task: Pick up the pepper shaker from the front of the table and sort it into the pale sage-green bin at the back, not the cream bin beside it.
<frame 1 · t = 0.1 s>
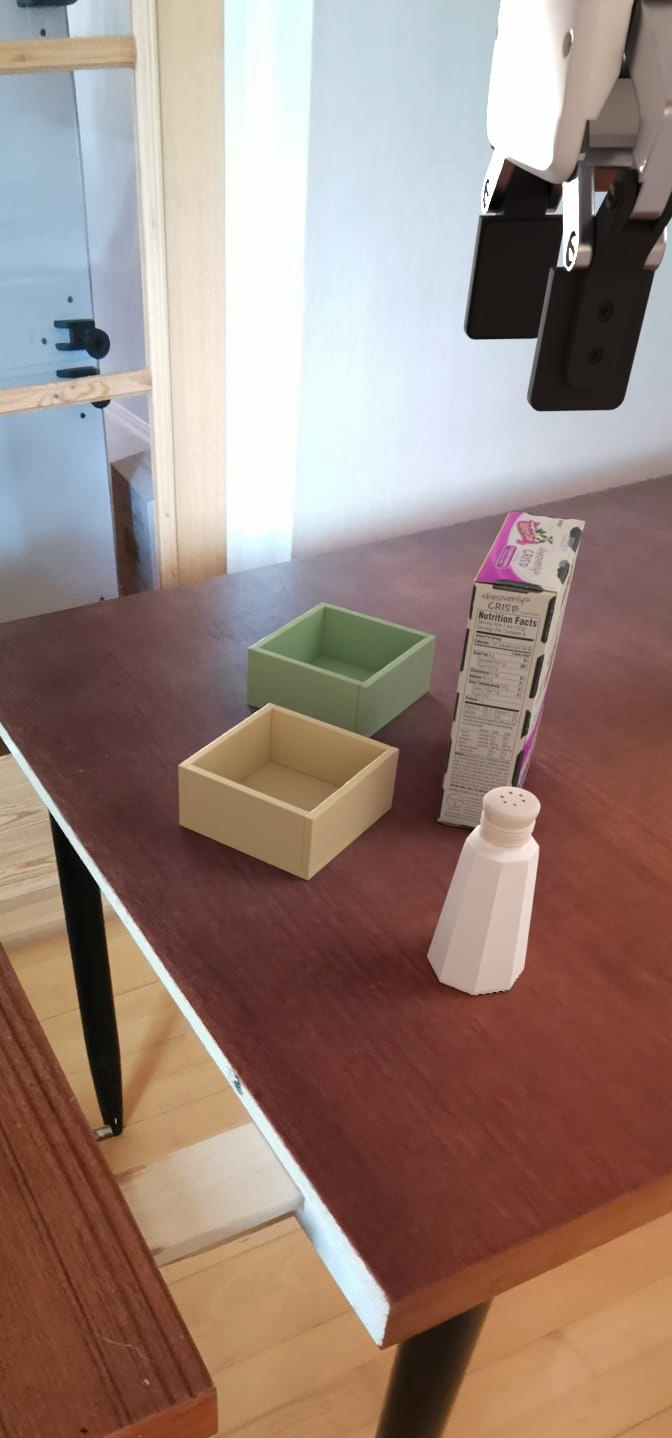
hand: (534, 369, 41), 30 cm above the table, tool pointing down, fingers open, 9 cm apart
candy bar box: (483, 791, 75), on the table
cream bin: (286, 816, 73), on the table
pepper shaker: (473, 967, 62), on the table
green bin: (338, 697, 84), on the table
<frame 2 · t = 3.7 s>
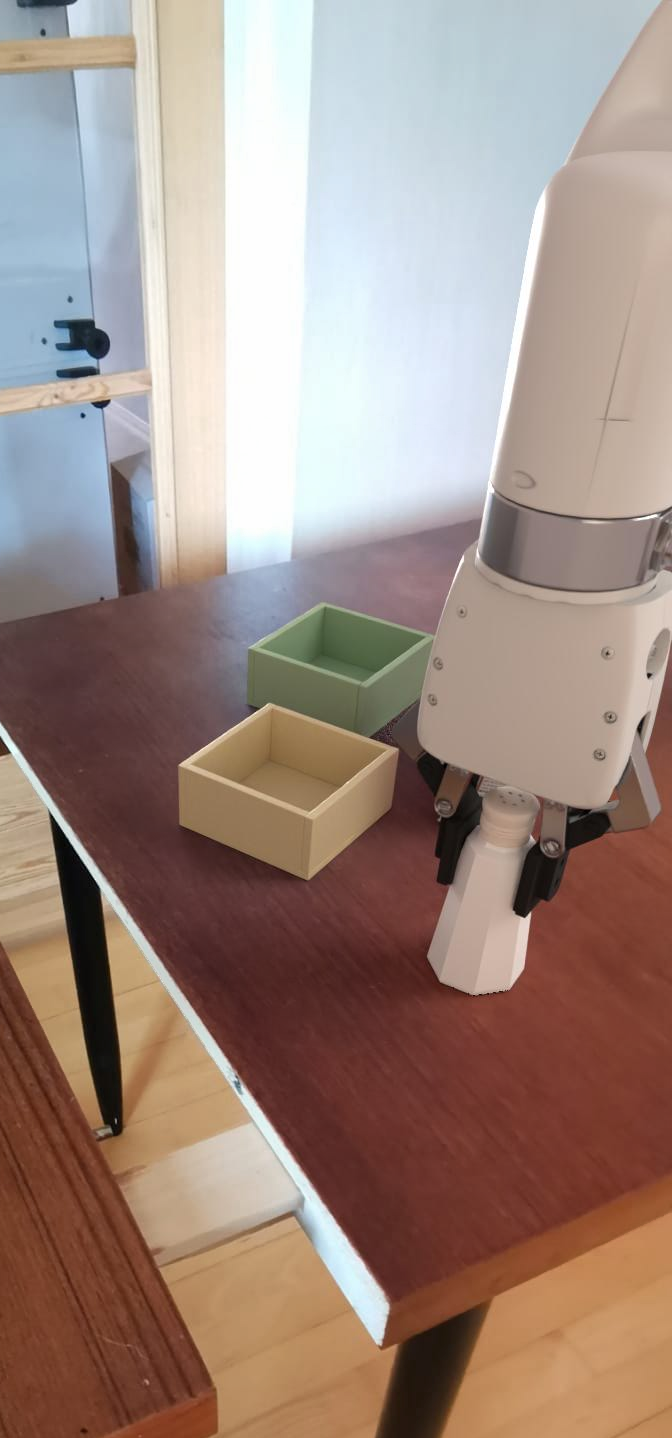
hand: (492, 884, 58), 6 cm above the table, tool pointing down, fingers closed on pepper shaker, 3 cm apart
pepper shaker: (473, 967, 62), on the table, touching gripper
everything else where it was.
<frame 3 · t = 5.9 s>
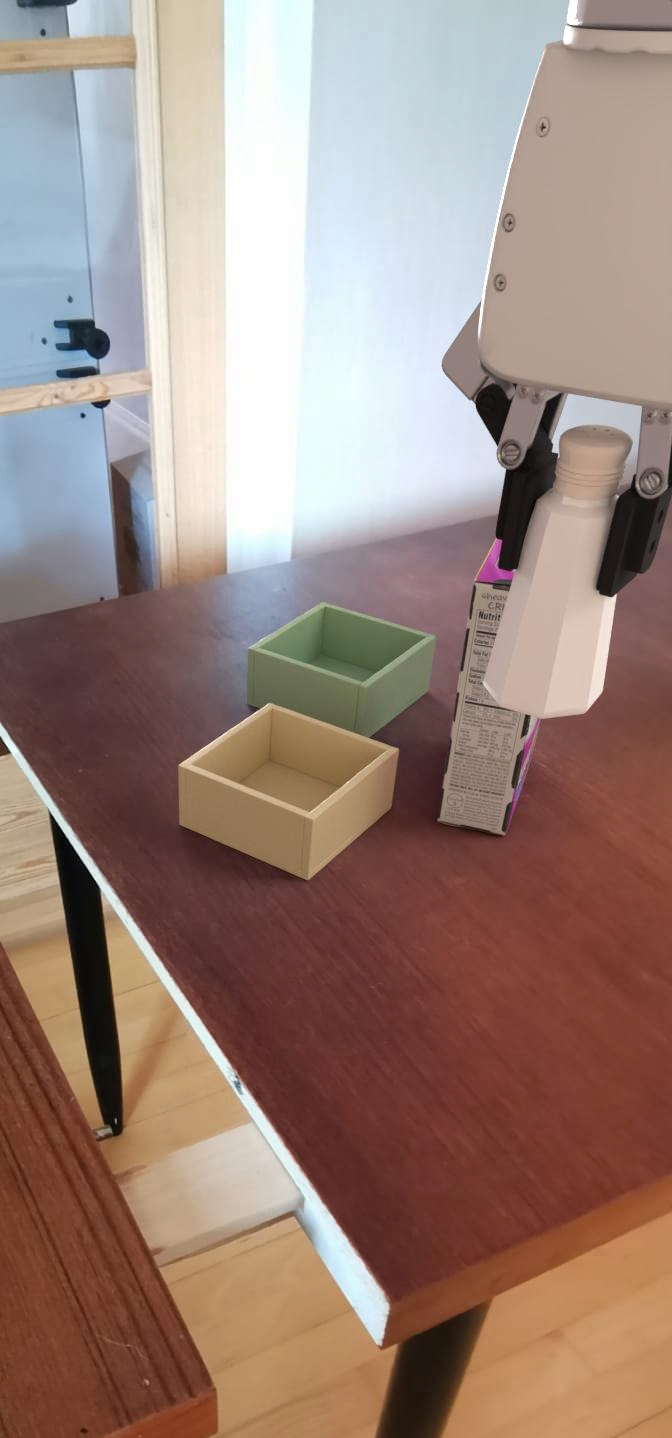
hand: (568, 568, 47), 22 cm above the table, tool pointing down, fingers closed on pepper shaker, 3 cm apart
pepper shaker: (540, 694, 51), point 16 cm above the table, touching gripper
everything else where it was.
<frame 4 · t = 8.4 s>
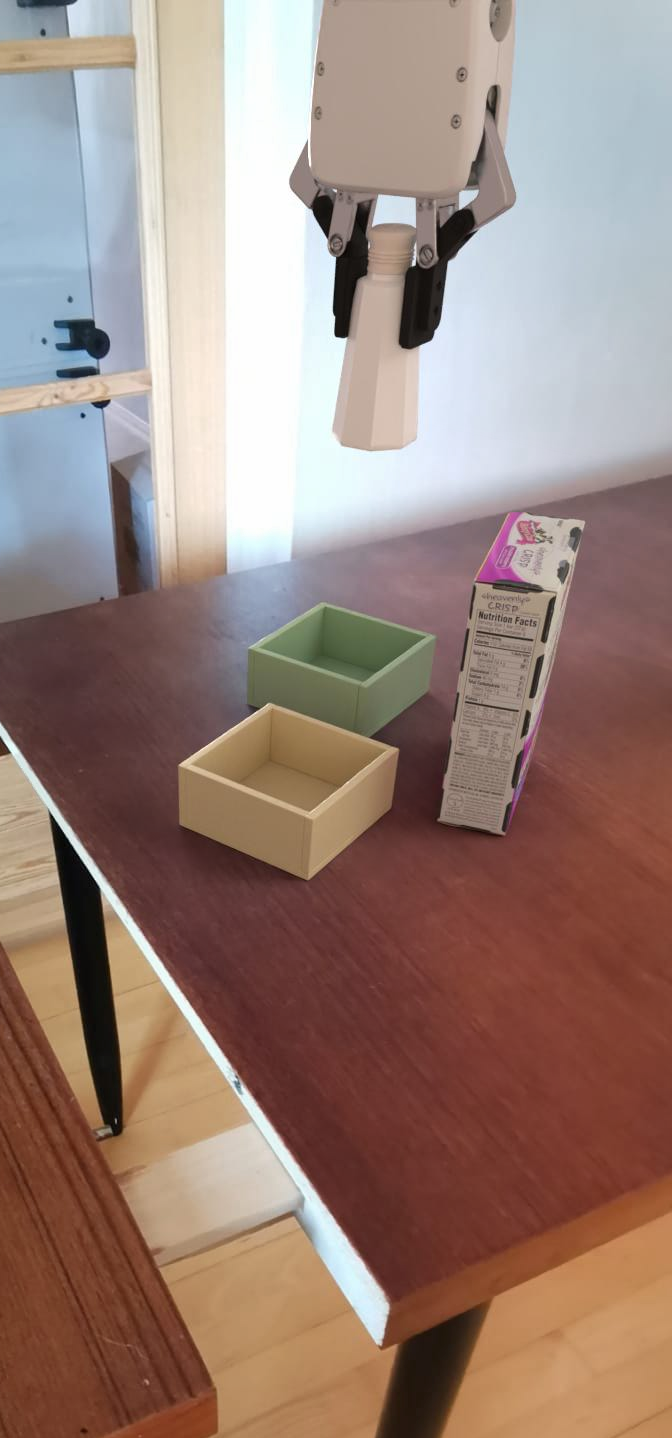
hand: (383, 335, 65), 25 cm above the table, tool pointing down, fingers closed on pepper shaker, 3 cm apart
pepper shaker: (373, 441, 69), point 19 cm above the table, touching gripper
everything else where it was.
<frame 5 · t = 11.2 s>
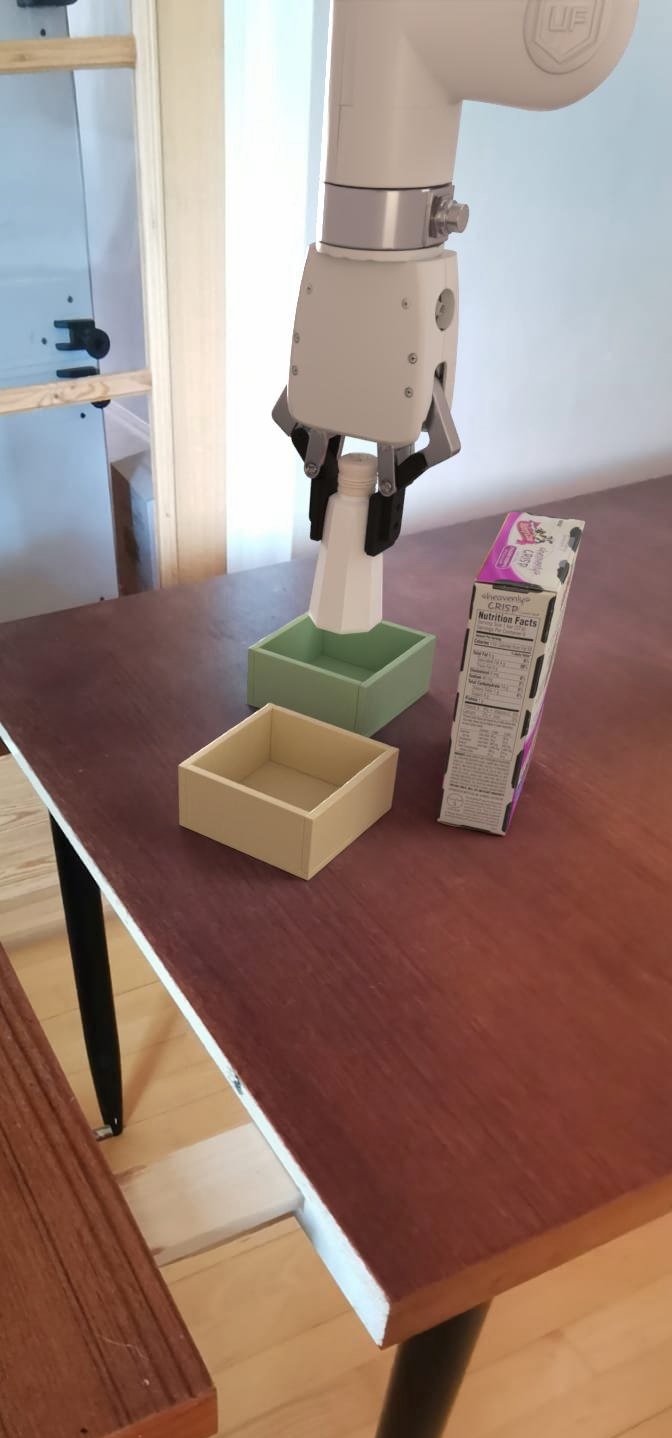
hand: (352, 539, 76), 12 cm above the table, tool pointing down, fingers closed on pepper shaker, 3 cm apart
pepper shaker: (344, 621, 80), point 6 cm above the table, touching gripper
everything else where it was.
when the fingers open (6 cm above the table, at t = 13.0 s): pepper shaker stays where it is, resting on green bin.
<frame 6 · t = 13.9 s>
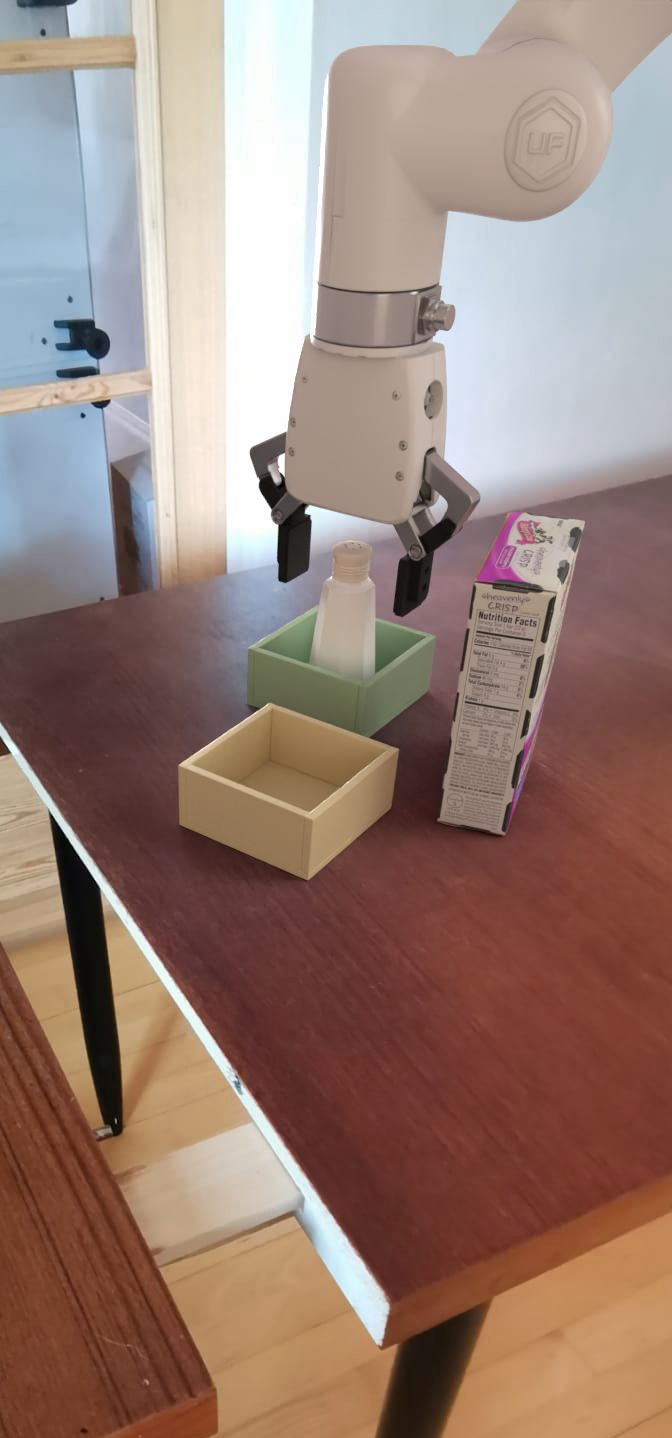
hand: (349, 592, 79), 8 cm above the table, tool pointing down, fingers open, 9 cm apart
pepper shaker: (339, 694, 84), resting on green bin
everything else where it was.
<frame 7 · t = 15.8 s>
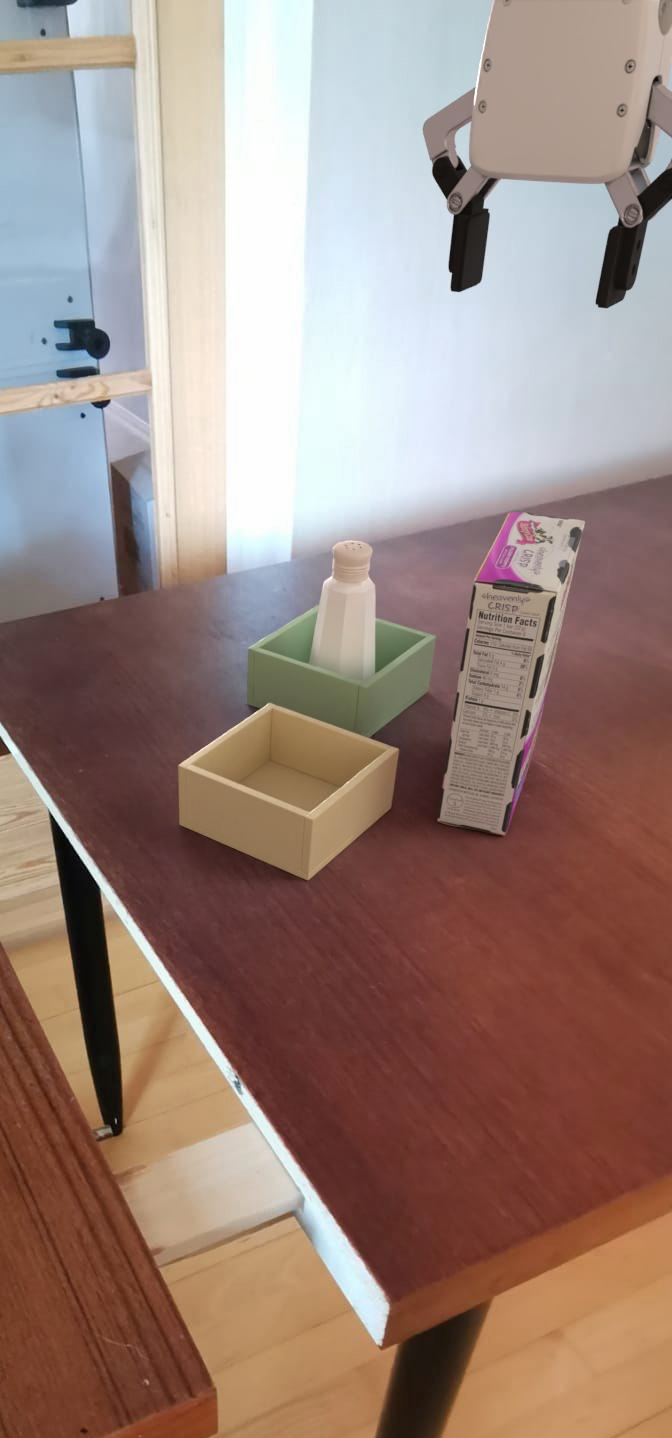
hand: (535, 295, 69), 26 cm above the table, tool pointing down, fingers open, 9 cm apart
nothing on the table moved.
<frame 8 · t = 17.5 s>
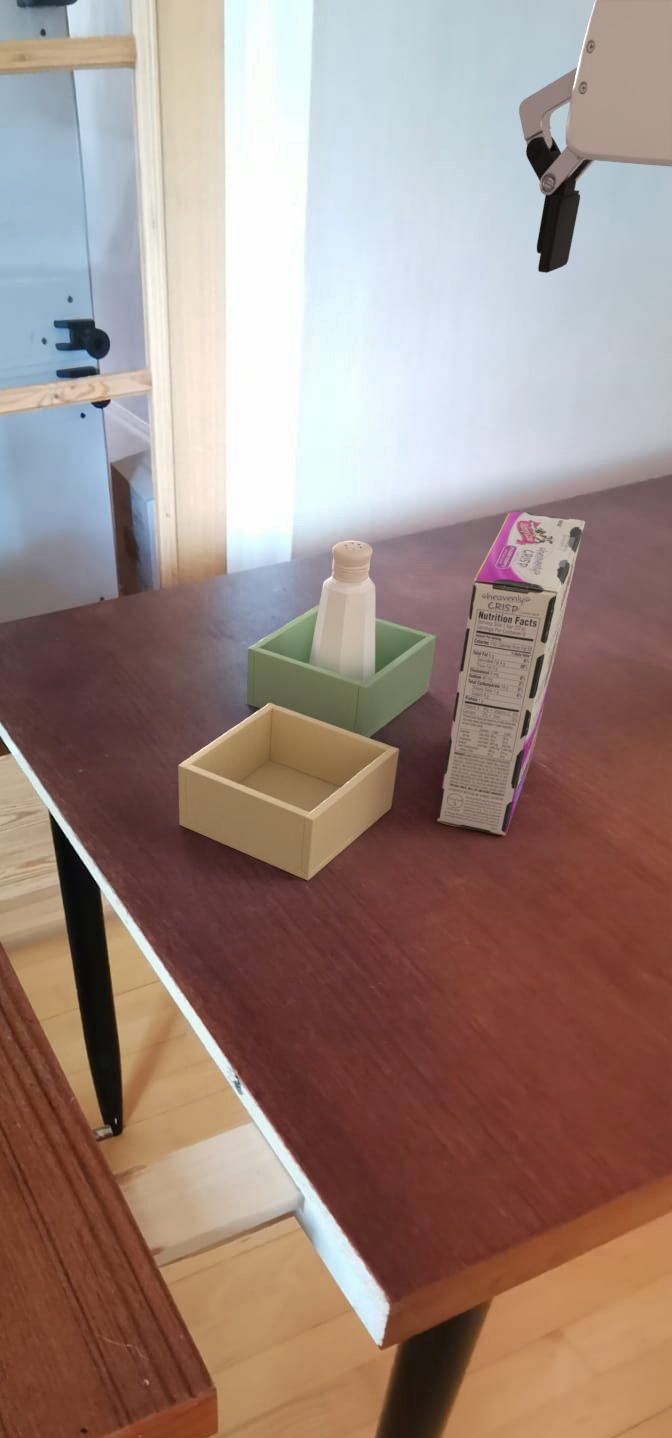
hand: (622, 278, 70), 26 cm above the table, tool pointing down, fingers open, 9 cm apart
nothing on the table moved.
at the end: pepper shaker inside the target area in the green bin (0.1 cm from its centre), point 0.3 cm above the green bin's base; pepper shaker tilted 0° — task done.
